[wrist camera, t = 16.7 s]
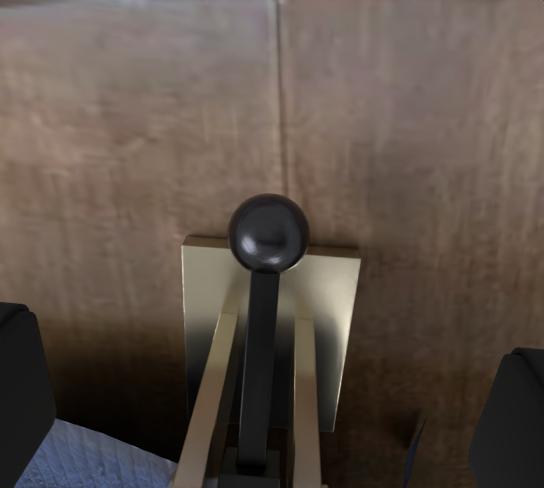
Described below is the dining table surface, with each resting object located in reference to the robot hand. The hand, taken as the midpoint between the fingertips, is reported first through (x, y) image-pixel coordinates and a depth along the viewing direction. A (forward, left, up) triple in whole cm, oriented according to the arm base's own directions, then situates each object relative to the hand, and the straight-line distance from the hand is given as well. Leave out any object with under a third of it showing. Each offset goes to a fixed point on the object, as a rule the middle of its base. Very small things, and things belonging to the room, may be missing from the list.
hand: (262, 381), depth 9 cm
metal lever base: (+10, 0, -14) cm, 17 cm away
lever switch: (+6, 0, -8) cm, 10 cm away
